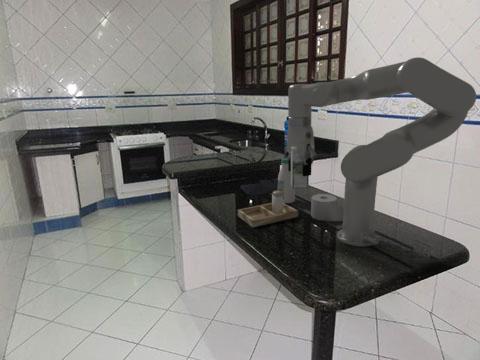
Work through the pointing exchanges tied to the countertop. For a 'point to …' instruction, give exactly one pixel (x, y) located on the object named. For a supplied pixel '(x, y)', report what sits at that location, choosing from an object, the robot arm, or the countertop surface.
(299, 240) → the countertop surface
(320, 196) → the toilet tissue
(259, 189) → the dark slate chunk
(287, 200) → the milk bottle
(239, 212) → the caddy
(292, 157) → the syrup box
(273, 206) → the shaker
